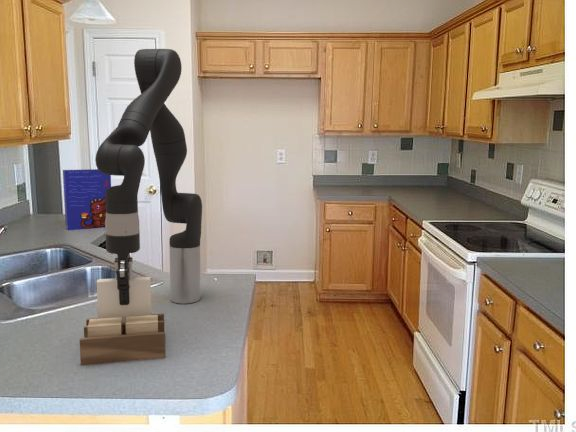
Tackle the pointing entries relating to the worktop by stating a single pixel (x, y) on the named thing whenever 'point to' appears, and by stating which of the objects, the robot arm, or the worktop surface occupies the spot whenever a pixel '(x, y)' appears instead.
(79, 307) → the worktop surface
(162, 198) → the robot arm
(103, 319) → the offcut block
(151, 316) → the offcut block
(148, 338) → the rack
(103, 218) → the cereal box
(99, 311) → the cutting board
